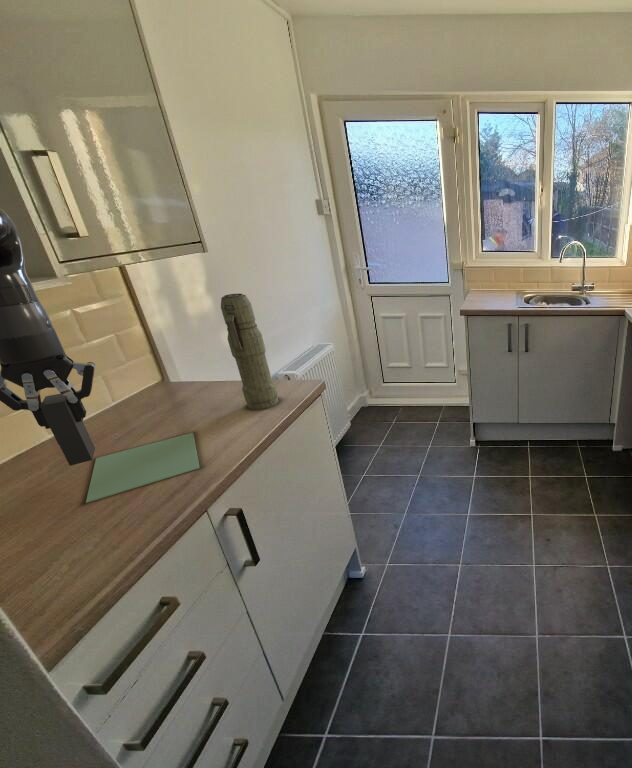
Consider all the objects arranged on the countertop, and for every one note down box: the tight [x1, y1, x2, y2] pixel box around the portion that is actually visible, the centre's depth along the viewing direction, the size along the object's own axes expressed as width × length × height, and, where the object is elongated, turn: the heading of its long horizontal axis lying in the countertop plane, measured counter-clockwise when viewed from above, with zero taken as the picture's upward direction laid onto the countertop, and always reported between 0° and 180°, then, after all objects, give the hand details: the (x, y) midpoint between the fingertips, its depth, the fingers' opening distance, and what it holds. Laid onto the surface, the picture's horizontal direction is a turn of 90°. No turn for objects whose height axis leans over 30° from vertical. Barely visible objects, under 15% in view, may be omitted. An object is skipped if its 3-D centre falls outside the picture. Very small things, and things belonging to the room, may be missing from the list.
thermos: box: [220, 293, 280, 411], centre depth 125 cm, size 9×12×35 cm
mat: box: [85, 432, 201, 504], centre depth 102 cm, size 20×22×1 cm
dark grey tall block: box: [40, 393, 96, 467], centre depth 75 cm, size 3×5×12 cm, turn 39°
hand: (65, 423), depth 74 cm, fingers closed on dark grey tall block, 3 cm apart
